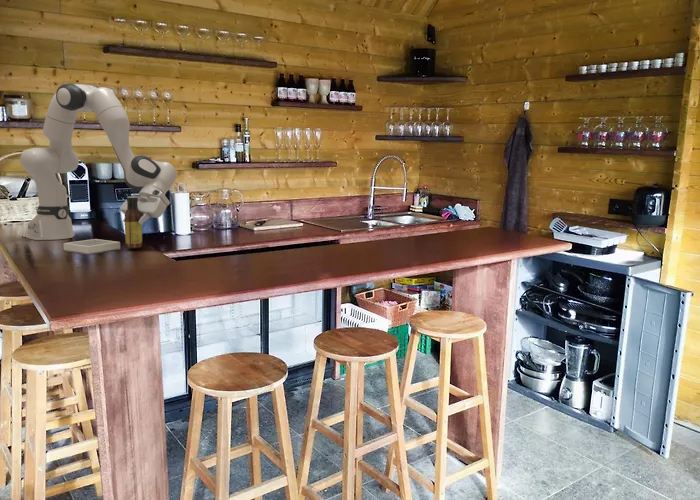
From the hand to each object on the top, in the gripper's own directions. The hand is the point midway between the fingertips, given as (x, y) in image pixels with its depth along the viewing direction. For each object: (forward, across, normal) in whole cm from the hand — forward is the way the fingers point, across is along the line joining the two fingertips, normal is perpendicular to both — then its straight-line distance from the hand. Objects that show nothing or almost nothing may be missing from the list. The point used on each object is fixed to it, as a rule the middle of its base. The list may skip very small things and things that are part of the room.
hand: (132, 222), depth 226 cm
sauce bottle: (+6, 0, +7) cm, 10 cm away
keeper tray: (+14, -12, +1) cm, 19 cm away
